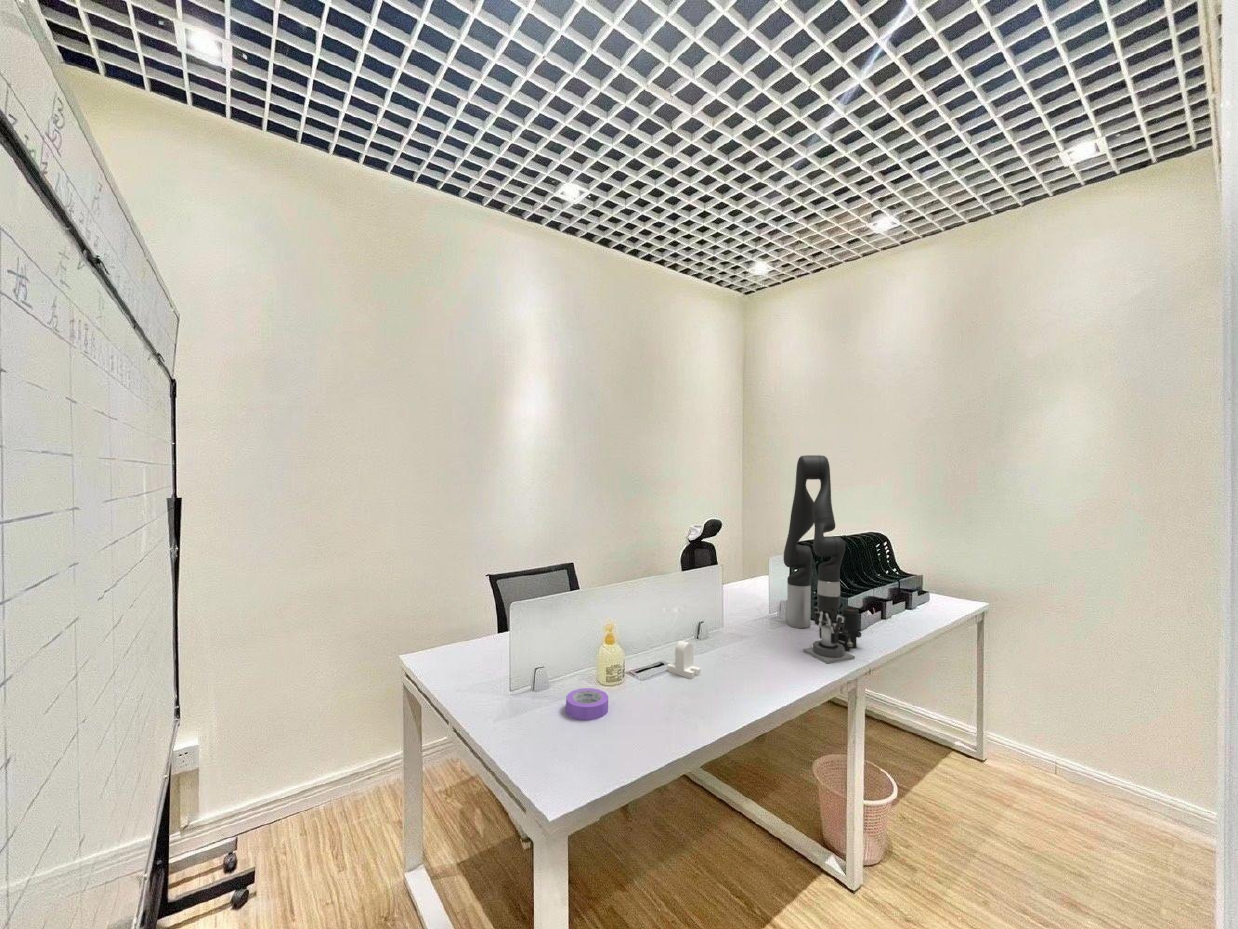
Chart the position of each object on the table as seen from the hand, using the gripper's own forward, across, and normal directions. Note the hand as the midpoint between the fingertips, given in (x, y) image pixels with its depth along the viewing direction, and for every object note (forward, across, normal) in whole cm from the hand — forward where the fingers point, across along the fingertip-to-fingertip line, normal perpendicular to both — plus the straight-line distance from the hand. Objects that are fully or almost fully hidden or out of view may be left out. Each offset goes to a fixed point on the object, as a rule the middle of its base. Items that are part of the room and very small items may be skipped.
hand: (828, 640), depth 185 cm
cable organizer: (+6, -5, -55) cm, 55 cm away
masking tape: (+6, +8, -92) cm, 92 cm away
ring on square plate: (+5, 0, 0) cm, 5 cm away
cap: (+1, 0, 0) cm, 1 cm away
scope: (+5, -4, +13) cm, 15 cm away
